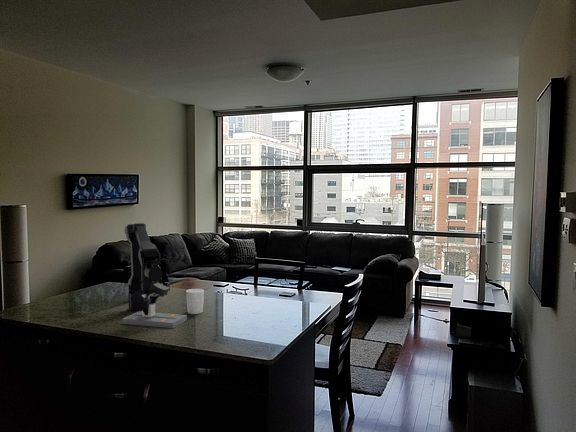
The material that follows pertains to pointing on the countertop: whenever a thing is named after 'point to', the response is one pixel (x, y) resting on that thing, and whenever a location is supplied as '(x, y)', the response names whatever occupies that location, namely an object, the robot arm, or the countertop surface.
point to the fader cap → (150, 310)
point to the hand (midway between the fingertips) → (148, 314)
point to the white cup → (195, 300)
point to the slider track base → (155, 320)
